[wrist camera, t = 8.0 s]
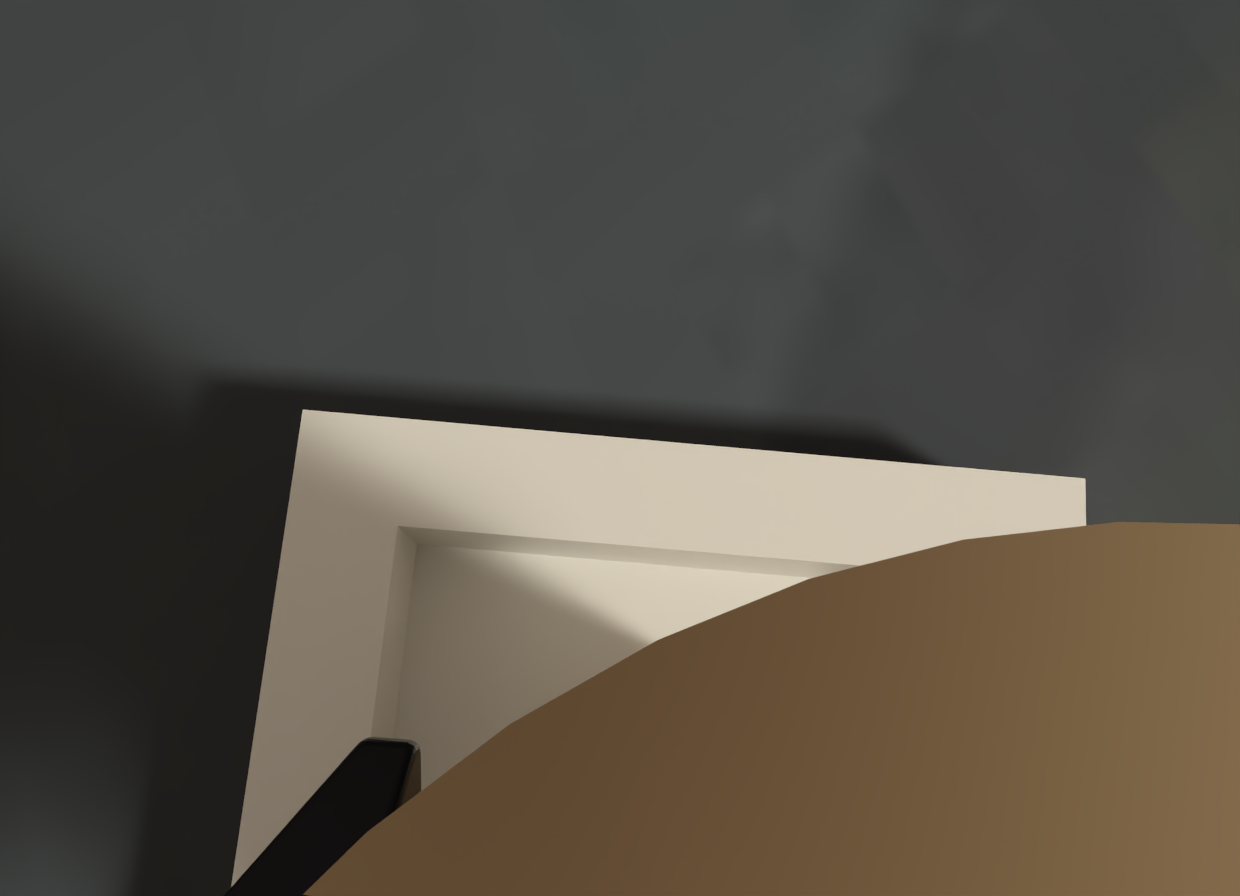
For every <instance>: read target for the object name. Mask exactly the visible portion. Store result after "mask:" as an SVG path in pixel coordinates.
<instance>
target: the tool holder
mask: <svg viewBox="0 0 1240 896" xmlns="http://www.w3.org/2000/svg"><path fill="white" fill-rule="evenodd" d="M1079 526H1086V491H1085V479H1084V478H1073V477H1061V476H1050V475H1039V474H1027V473H1016V472H1005V471H993V470H982V469H971V468H959V467H948V466H937V465H925V464H914V463H903V462H891V461H880V460H869V459H857V458H846V457H835V456H823V455H812V454H801V453H789V452H778V451H767V450H755V449H744V448H733V447H721V446H710V445H699V444H687V443H676V442H665V441H654V440H642V439H631V438H620V437H608V436H597V435H586V434H574V433H563V432H552V431H540V430H529V429H518V428H506V427H495V426H484V425H472V424H461V423H450V422H438V421H427V420H416V419H404V418H393V417H382V416H370V415H359V414H348V413H336V412H325V411H314V410H303V411H302V418H301V424H300V431H299V438H298V444H297V451H296V458H295V464H294V471H293V478H292V484H291V491H290V498H289V504H288V511H287V518H286V524H285V531H284V538H283V544H282V551H281V558H280V564H279V571H278V578H277V584H276V591H275V598H274V604H273V611H272V617H271V624H270V631H269V637H268V644H267V651H266V657H265V664H264V671H263V677H262V684H261V691H260V697H259V704H258V711H257V717H256V724H255V731H254V737H253V744H252V751H251V757H250V764H249V771H248V777H247V784H246V791H245V797H244V804H243V811H242V817H241V824H240V831H239V837H238V844H237V850H236V857H235V864H234V870H233V877H232V884H231V887H232V886H233V885H234V884H235V883H236V881H237V880H238V879H239V878H240V877H241V876H242V875H243V873H244V872H245V871H246V870H247V869H248V868H249V867H250V866H251V864H252V863H253V862H254V861H255V860H256V859H257V858H258V856H259V855H260V854H261V853H262V852H263V851H264V850H265V849H266V847H267V846H268V845H269V844H270V843H271V842H272V841H273V839H274V838H275V837H276V836H277V835H278V834H279V833H280V832H281V830H282V829H283V828H284V827H285V826H286V825H287V824H288V822H289V821H290V820H291V819H292V818H293V817H294V816H295V815H296V813H297V812H298V811H299V810H300V809H301V808H302V807H303V805H304V804H305V803H306V802H307V801H308V800H309V799H310V798H311V796H312V795H313V794H314V793H315V792H316V791H317V790H318V788H319V787H320V786H321V785H322V784H323V783H324V782H325V781H326V779H327V778H328V777H329V776H330V775H331V774H332V773H333V771H334V770H335V769H336V768H337V767H338V766H339V765H340V763H341V762H342V761H343V760H344V759H345V758H346V757H347V756H348V754H349V753H350V752H351V751H352V750H353V749H354V748H355V747H356V746H357V745H358V743H359V742H361V741H362V740H364V739H366V738H368V737H382V738H395V739H407V740H412V741H415V742H416V743H417V744H418V745H419V747H420V751H421V791H422V790H423V789H425V788H426V787H427V786H429V785H430V784H431V783H433V782H434V781H435V780H437V779H438V778H439V777H441V776H442V775H443V774H445V773H446V772H447V771H449V770H450V769H451V768H452V767H454V766H455V765H456V764H458V763H459V762H460V761H462V760H463V759H464V758H466V757H467V756H468V755H470V754H471V753H472V752H474V751H475V750H476V749H478V748H479V747H480V746H482V745H483V744H484V743H486V742H487V741H488V740H490V739H491V738H492V737H494V736H495V735H496V734H498V733H499V732H500V731H501V730H503V729H504V728H505V727H507V726H508V725H509V724H511V723H513V722H514V721H516V720H518V719H520V718H521V717H523V716H525V715H527V714H528V713H530V712H532V711H534V710H536V709H537V708H539V707H541V706H543V705H544V704H546V703H548V702H550V701H551V700H553V699H555V698H557V697H558V696H560V695H562V694H564V693H565V692H567V691H569V690H571V689H572V688H574V687H576V686H578V685H579V684H581V683H583V682H585V681H587V680H588V679H590V678H592V677H594V676H595V675H597V674H599V673H601V672H602V671H604V670H606V669H608V668H609V667H611V666H613V665H615V664H616V663H618V662H620V661H622V660H623V659H625V658H627V657H629V656H630V655H632V654H634V653H636V652H637V651H639V650H641V649H643V648H645V647H646V646H648V645H650V644H652V643H653V642H655V641H657V640H659V639H661V638H664V637H666V636H669V635H671V634H674V633H676V632H679V631H681V630H684V629H686V628H688V627H691V626H693V625H696V624H698V623H701V622H703V621H706V620H708V619H711V618H713V617H716V616H718V615H721V614H723V613H726V612H728V611H731V610H733V609H736V608H738V607H740V606H743V605H745V604H748V603H750V602H753V601H755V600H758V599H760V598H763V597H765V596H768V595H770V594H773V593H775V592H778V591H780V590H783V589H785V588H788V587H790V586H792V585H795V584H797V583H800V582H802V581H805V580H807V579H810V578H814V577H818V576H822V575H826V574H830V573H834V572H838V571H842V570H845V569H849V568H853V567H857V566H861V565H865V564H869V563H873V562H877V561H881V560H885V559H889V558H893V557H897V556H901V555H905V554H909V553H912V552H916V551H920V550H924V549H928V548H932V547H936V546H940V545H944V544H948V543H952V542H956V541H960V540H964V539H973V538H982V537H991V536H1000V535H1008V534H1017V533H1026V532H1035V531H1044V530H1052V529H1061V528H1070V527H1079Z"/></svg>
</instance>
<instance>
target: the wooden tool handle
mask: <svg viewBox="0 0 1240 896" xmlns="http://www.w3.org/2000/svg"><path fill="white" fill-rule="evenodd" d="M302 896H1240V524H1192V523H1144V522H1114V523H1105V524H1096V525H1088V526H1079V527H1070V528H1061V529H1052V530H1044V531H1035V532H1026V533H1017V534H1008V535H1000V536H991V537H982V538H973V539H964V540H960V541H956V542H952V543H948V544H944V545H940V546H936V547H932V548H928V549H924V550H920V551H916V552H912V553H909V554H905V555H901V556H897V557H893V558H889V559H885V560H881V561H877V562H873V563H869V564H865V565H861V566H857V567H853V568H849V569H845V570H842V571H838V572H834V573H830V574H826V575H822V576H818V577H814V578H810V579H807V580H805V581H802V582H800V583H797V584H795V585H792V586H790V587H788V588H785V589H783V590H780V591H778V592H775V593H773V594H770V595H768V596H765V597H763V598H760V599H758V600H755V601H753V602H750V603H748V604H745V605H743V606H740V607H738V608H736V609H733V610H731V611H728V612H726V613H723V614H721V615H718V616H716V617H713V618H711V619H708V620H706V621H703V622H701V623H698V624H696V625H693V626H691V627H688V628H686V629H684V630H681V631H679V632H676V633H674V634H671V635H669V636H666V637H664V638H661V639H659V640H657V641H655V642H653V643H652V644H650V645H648V646H646V647H645V648H643V649H641V650H639V651H637V652H636V653H634V654H632V655H630V656H629V657H627V658H625V659H623V660H622V661H620V662H618V663H616V664H615V665H613V666H611V667H609V668H608V669H606V670H604V671H602V672H601V673H599V674H597V675H595V676H594V677H592V678H590V679H588V680H587V681H585V682H583V683H581V684H579V685H578V686H576V687H574V688H572V689H571V690H569V691H567V692H565V693H564V694H562V695H560V696H558V697H557V698H555V699H553V700H551V701H550V702H548V703H546V704H544V705H543V706H541V707H539V708H537V709H536V710H534V711H532V712H530V713H528V714H527V715H525V716H523V717H521V718H520V719H518V720H516V721H514V722H513V723H511V724H509V725H508V726H507V727H505V728H504V729H503V730H501V731H500V732H499V733H498V734H496V735H495V736H494V737H492V738H491V739H490V740H488V741H487V742H486V743H484V744H483V745H482V746H480V747H479V748H478V749H476V750H475V751H474V752H472V753H471V754H470V755H468V756H467V757H466V758H464V759H463V760H462V761H460V762H459V763H458V764H456V765H455V766H454V767H452V768H451V769H450V770H449V771H447V772H446V773H445V774H443V775H442V776H441V777H439V778H438V779H437V780H435V781H434V782H433V783H431V784H430V785H429V786H427V787H426V788H425V789H423V790H422V791H421V792H419V793H418V794H417V795H415V796H414V797H413V798H411V799H410V800H409V801H407V802H406V803H405V804H403V805H402V806H401V807H400V808H398V809H397V810H396V811H394V812H393V813H392V814H390V815H389V816H388V817H386V818H385V819H384V820H382V821H381V822H380V823H378V824H377V825H376V826H374V827H373V828H372V829H370V830H369V831H368V832H367V833H366V834H365V835H363V836H362V837H361V838H360V839H359V840H358V841H357V842H356V843H355V844H354V845H353V846H352V847H351V848H350V849H349V850H348V851H347V852H346V853H345V854H344V855H343V856H342V857H341V858H340V859H339V860H338V861H337V862H336V863H335V864H334V865H333V866H332V867H331V868H330V869H329V870H328V871H326V872H325V873H324V874H323V875H322V876H321V877H320V878H319V879H318V880H317V881H316V882H315V883H314V884H313V885H312V886H311V887H310V888H309V889H308V890H307V891H306V892H305V893H304V894H303V895H302Z"/></svg>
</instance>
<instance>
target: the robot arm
mask: <svg viewBox="0 0 1240 896" xmlns="http://www.w3.org/2000/svg"><path fill="white" fill-rule="evenodd" d="M419 792H421V751H420V747H419V745H418V744H417V743H416V742H415V741H412V740H407V739H395V738H382V737H368V738H366V739H364V740H362V741H361V742H359V743H358V745H357V746H356V747H355V748H354V749H353V750H352V751H351V752H350V753H349V754H348V756H347V757H346V758H345V759H344V760H343V761H342V762H341V763H340V765H339V766H338V767H337V768H336V769H335V770H334V771H333V773H332V774H331V775H330V776H329V777H328V778H327V779H326V781H325V782H324V783H323V784H322V785H321V786H320V787H319V788H318V790H317V791H316V792H315V793H314V794H313V795H312V796H311V798H310V799H309V800H308V801H307V802H306V803H305V804H304V805H303V807H302V808H301V809H300V810H299V811H298V812H297V813H296V815H295V816H294V817H293V818H292V819H291V820H290V821H289V822H288V824H287V825H286V826H285V827H284V828H283V829H282V830H281V832H280V833H279V834H278V835H277V836H276V837H275V838H274V839H273V841H272V842H271V843H270V844H269V845H268V846H267V847H266V849H265V850H264V851H263V852H262V853H261V854H260V855H259V856H258V858H257V859H256V860H255V861H254V862H253V863H252V864H251V866H250V867H249V868H248V869H247V870H246V871H245V872H244V873H243V875H242V876H241V877H240V878H239V879H238V880H237V881H236V883H235V884H234V885H233V886H232V887H231V888H230V889H229V890H228V892H227V893H226V894H225V895H224V896H302V895H303V894H304V893H305V892H306V891H307V890H308V889H309V888H310V887H311V886H312V885H313V884H314V883H315V882H316V881H317V880H318V879H319V878H320V877H321V876H322V875H323V874H324V873H325V872H326V871H328V870H329V869H330V868H331V867H332V866H333V865H334V864H335V863H336V862H337V861H338V860H339V859H340V858H341V857H342V856H343V855H344V854H345V853H346V852H347V851H348V850H349V849H350V848H351V847H352V846H353V845H354V844H355V843H356V842H357V841H358V840H359V839H360V838H361V837H362V836H363V835H365V834H366V833H367V832H368V831H369V830H370V829H372V828H373V827H374V826H376V825H377V824H378V823H380V822H381V821H382V820H384V819H385V818H386V817H388V816H389V815H390V814H392V813H393V812H394V811H396V810H397V809H398V808H400V807H401V806H402V805H403V804H405V803H406V802H407V801H409V800H410V799H411V798H413V797H414V796H415V795H417V794H418V793H419Z"/></svg>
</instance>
